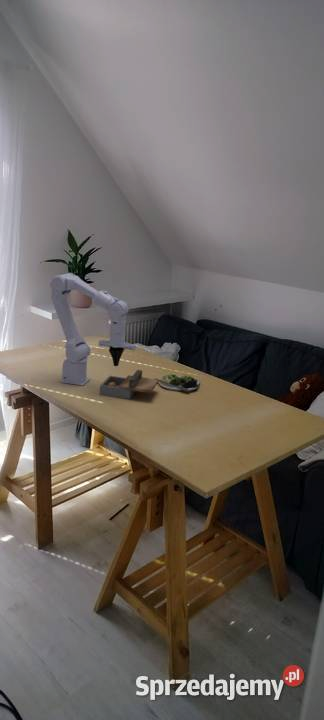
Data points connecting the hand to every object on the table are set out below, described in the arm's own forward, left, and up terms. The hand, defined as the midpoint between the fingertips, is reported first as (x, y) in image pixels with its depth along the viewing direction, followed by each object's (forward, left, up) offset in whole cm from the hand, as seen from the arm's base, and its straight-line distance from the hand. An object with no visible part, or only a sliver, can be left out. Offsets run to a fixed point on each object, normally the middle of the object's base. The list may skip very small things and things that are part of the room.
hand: (116, 365), depth 201 cm
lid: (+10, -1, -6) cm, 12 cm away
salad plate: (+24, +16, -11) cm, 31 cm away
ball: (-1, -1, -8) cm, 9 cm away
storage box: (+2, -1, -10) cm, 11 cm away
